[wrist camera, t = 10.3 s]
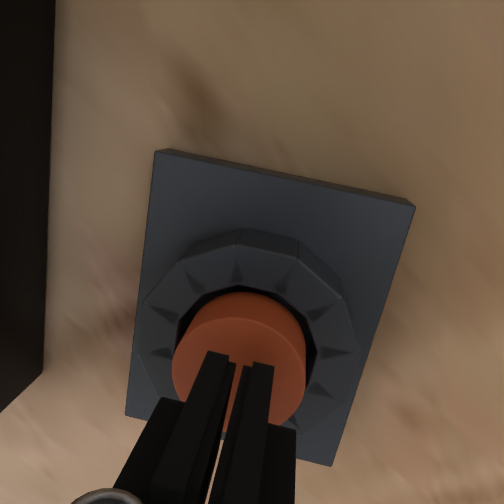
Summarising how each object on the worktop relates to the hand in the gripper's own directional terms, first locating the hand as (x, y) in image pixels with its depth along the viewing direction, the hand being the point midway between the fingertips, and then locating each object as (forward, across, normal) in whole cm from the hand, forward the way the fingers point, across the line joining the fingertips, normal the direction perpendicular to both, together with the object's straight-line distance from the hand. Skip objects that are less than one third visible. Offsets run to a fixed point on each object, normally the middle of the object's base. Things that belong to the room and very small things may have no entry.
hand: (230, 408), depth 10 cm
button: (+3, 0, 0) cm, 3 cm away
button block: (+5, 0, 0) cm, 5 cm away
